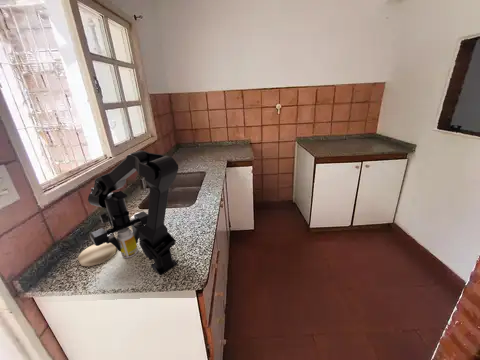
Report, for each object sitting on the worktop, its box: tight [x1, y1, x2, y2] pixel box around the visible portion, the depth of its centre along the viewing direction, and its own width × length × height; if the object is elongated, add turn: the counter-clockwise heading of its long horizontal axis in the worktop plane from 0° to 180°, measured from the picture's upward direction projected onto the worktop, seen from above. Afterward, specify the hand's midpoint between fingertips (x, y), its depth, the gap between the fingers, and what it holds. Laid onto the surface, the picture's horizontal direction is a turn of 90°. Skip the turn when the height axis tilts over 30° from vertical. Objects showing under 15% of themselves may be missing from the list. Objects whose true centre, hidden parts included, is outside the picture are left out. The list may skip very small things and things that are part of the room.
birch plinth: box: [77, 243, 118, 267], centre depth 80 cm, size 12×12×2 cm
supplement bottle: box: [116, 227, 139, 259], centre depth 78 cm, size 6×6×10 cm
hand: (128, 246), depth 79 cm, fingers closed on supplement bottle, 6 cm apart
